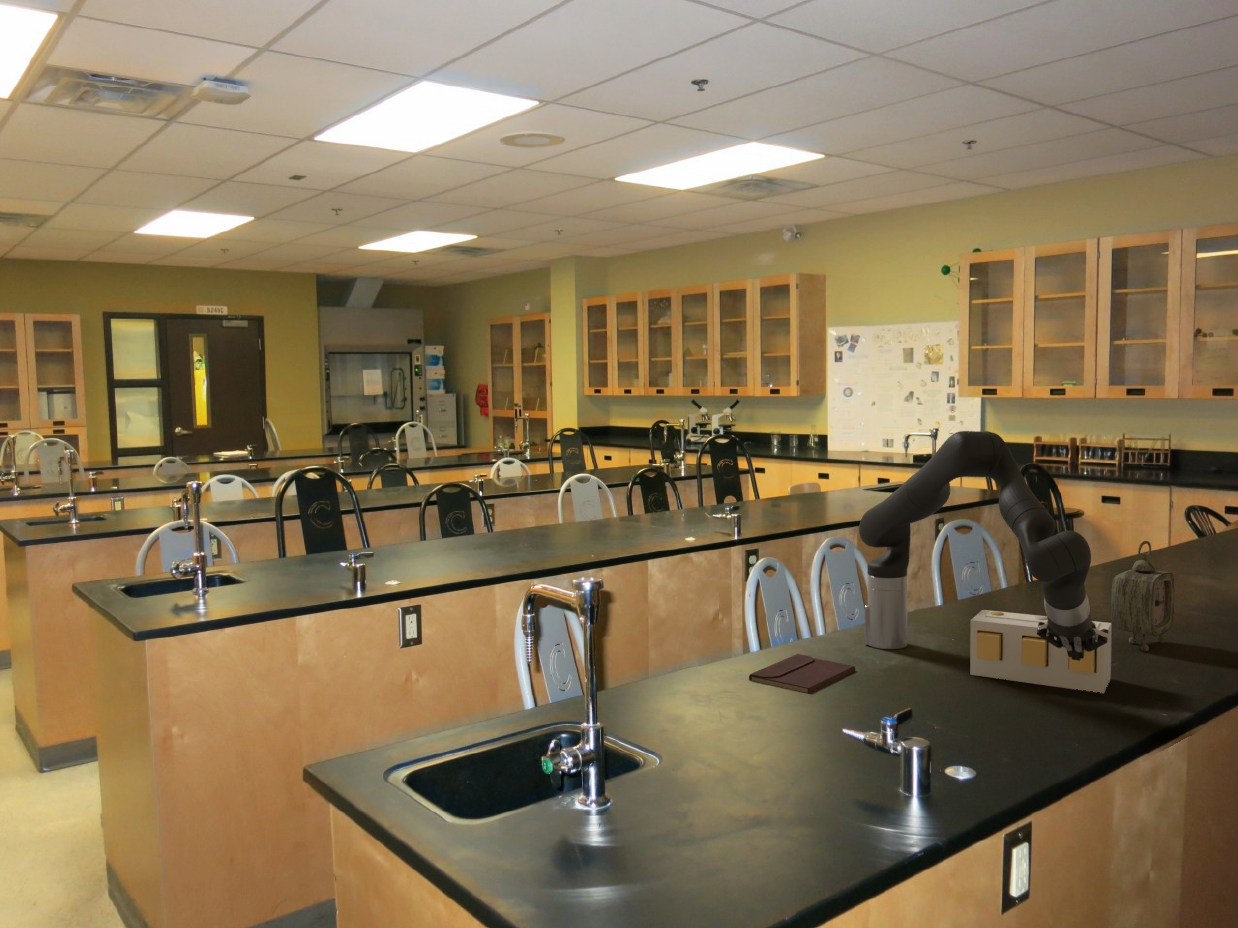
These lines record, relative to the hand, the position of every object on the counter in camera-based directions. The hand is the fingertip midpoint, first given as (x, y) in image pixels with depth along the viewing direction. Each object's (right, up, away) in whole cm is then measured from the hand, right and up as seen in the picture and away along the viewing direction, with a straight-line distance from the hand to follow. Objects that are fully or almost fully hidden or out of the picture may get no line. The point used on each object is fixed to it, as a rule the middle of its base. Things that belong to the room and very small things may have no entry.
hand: (1076, 656), depth 189 cm
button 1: (-11, -3, +15) cm, 19 cm away
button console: (0, -8, +16) cm, 17 cm away
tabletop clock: (+34, -5, +38) cm, 51 cm away
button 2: (+4, -4, +5) cm, 8 cm away
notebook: (-50, -9, +21) cm, 55 cm away
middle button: (-4, -4, +10) cm, 12 cm away
